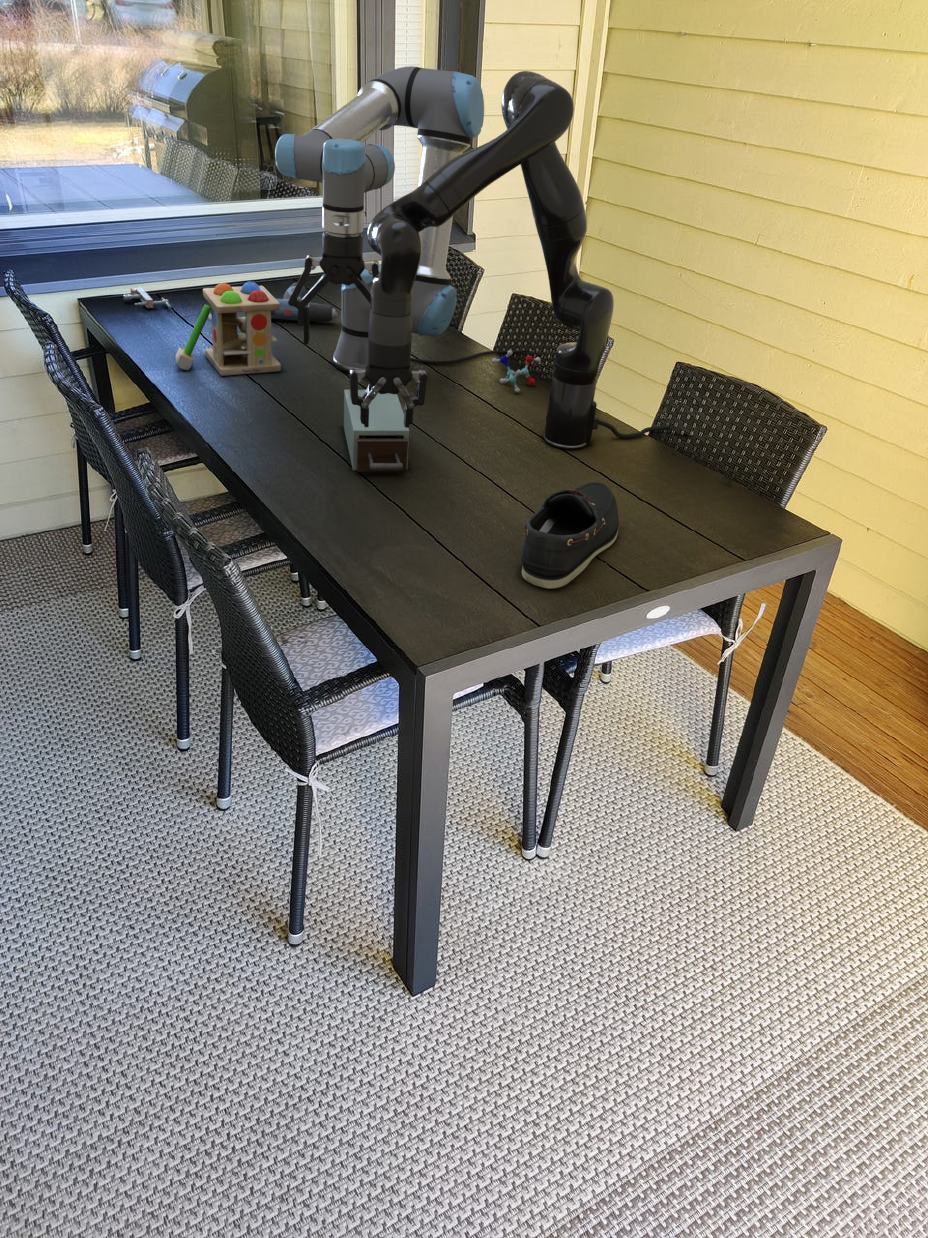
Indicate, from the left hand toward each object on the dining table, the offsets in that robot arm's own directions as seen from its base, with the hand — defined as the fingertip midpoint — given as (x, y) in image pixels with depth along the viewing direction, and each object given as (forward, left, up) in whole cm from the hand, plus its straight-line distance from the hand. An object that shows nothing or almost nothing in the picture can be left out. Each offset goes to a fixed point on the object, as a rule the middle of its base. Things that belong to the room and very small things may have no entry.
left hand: (341, 345), depth 193 cm
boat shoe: (-5, +60, -19) cm, 63 cm away
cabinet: (-2, +9, -19) cm, 21 cm away
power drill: (-40, -69, -19) cm, 81 cm away
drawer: (+2, +15, -18) cm, 23 cm away
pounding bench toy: (-1, -45, -19) cm, 49 cm away
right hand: (+7, +23, -7) cm, 25 cm away
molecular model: (-51, 0, -19) cm, 55 cm away
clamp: (-6, -94, -19) cm, 96 cm away
